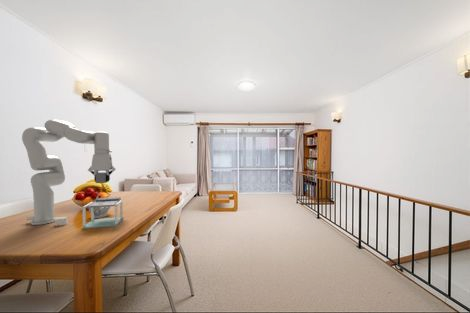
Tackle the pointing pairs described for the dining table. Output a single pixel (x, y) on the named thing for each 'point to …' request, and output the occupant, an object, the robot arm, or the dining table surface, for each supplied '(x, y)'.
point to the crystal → (100, 211)
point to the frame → (102, 222)
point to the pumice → (61, 221)
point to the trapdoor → (105, 202)
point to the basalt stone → (101, 177)
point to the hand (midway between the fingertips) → (102, 181)
